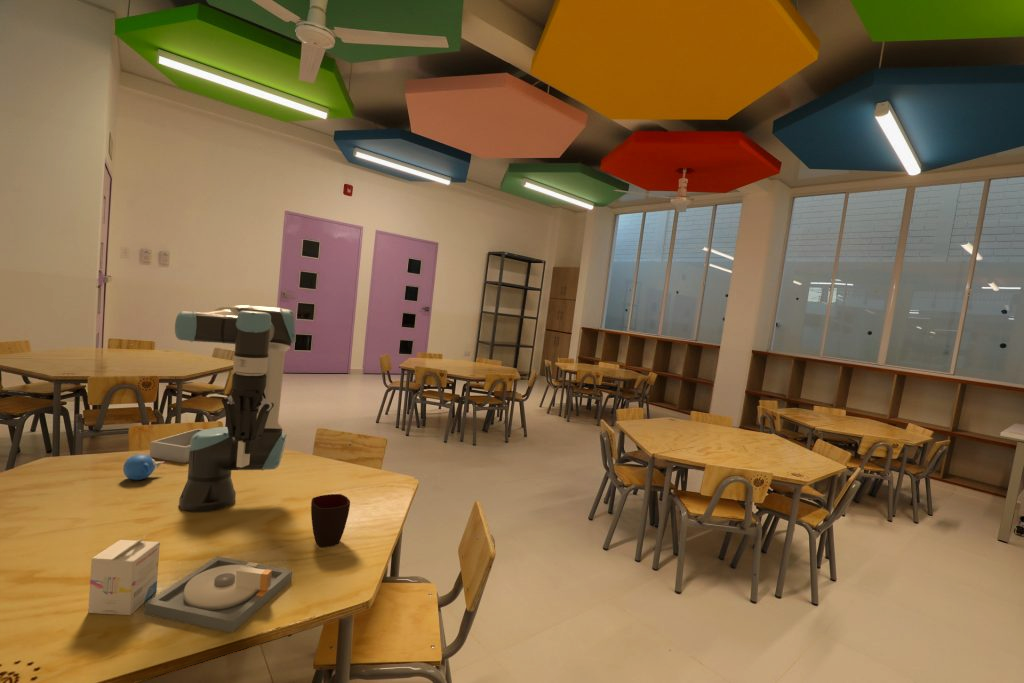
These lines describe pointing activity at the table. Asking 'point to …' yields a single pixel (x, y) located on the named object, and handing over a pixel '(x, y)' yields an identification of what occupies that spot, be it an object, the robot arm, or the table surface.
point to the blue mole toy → (140, 466)
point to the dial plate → (226, 619)
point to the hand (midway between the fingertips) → (242, 465)
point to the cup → (329, 518)
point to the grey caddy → (173, 447)
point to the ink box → (123, 577)
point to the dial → (225, 586)
